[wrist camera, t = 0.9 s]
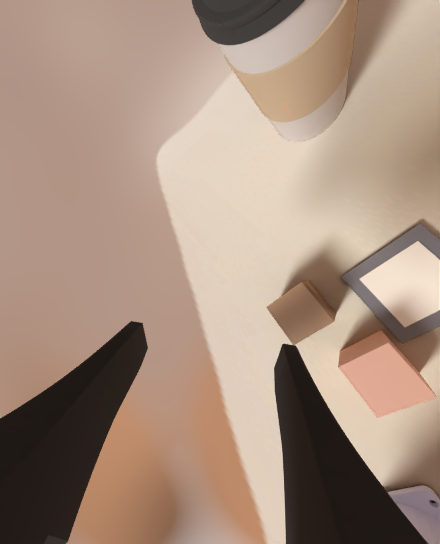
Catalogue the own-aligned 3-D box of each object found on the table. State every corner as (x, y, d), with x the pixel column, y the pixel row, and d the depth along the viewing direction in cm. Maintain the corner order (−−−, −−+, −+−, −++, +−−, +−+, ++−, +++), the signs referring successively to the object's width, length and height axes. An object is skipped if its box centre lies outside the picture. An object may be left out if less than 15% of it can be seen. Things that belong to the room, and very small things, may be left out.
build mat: (502, 294, 15) (507, 295, 14) (400, 342, 18) (402, 344, 17) (419, 224, 17) (420, 222, 17) (341, 276, 20) (340, 276, 19)
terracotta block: (419, 372, 17) (437, 397, 14) (371, 391, 19) (377, 417, 15) (380, 329, 18) (388, 342, 15) (339, 350, 20) (338, 366, 17)
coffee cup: (386, 79, 18) (478, -386, 5) (305, 169, 22) (242, 21, 9) (309, 44, 21) (252, -298, 9) (249, 127, 25) (145, -27, 12)
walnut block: (336, 313, 20) (334, 321, 17) (302, 333, 22) (293, 345, 18) (308, 280, 21) (301, 281, 18) (278, 301, 23) (266, 307, 20)
